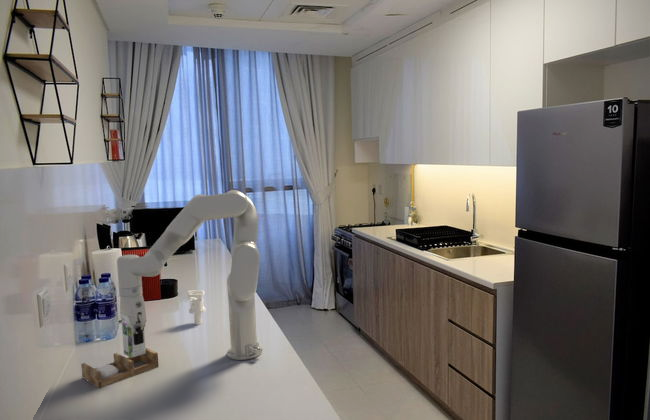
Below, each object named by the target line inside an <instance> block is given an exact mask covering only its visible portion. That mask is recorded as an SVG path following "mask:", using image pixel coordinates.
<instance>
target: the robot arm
mask: <svg viewBox="0 0 650 420" xmlns="http://www.w3.org/2000/svg"><path fill="white" fill-rule="evenodd" d="M229 218H233V221H234V226H233V238H232V245H231V250H230V256H231V267H230V268H231V269H230V272H229V274H228V275H227V280H226V289H227V290H226V291H227V300H228V301H227V302H228V318H229V319H228V320H229V322H228V323H229V334H230V335H229V337H230V339H229V340H230V348H229V349H228V350H227V351H226V356H227V358H229V359H231V360H236V361H246V360H251V359H254V358H257V357H259V356H260V355H262V353H263V348H262V347H261V346H260V344H259V342H258V337H257V336H258V335H257V316H256V315H257V312H256V310H257V309H256V297H255V296H256V295H255V294H256V293H257V288H258V280H259V275H260V264H261V254H260V251H259V248H258V236H259V235H258V232H259V215H258V211H257V208H256V206H255V205H254V203H253V201H252V200H251V198H250V197H248V196H247V195H246V194H245V193H243V192H241V191H239V190H236V189H231V190H228V191H227V192H224V193H218V194H217V193H216V194H208V195H207V194H201V193H200V194H196V195H194V196H193V197H192V198H191V199H190V200H188V203H186V205H185V206H184V207H183V209H181V211H180V212H179V213H178V214H177V215H176V216H175V218H173V220H172V221H171V222H170V223H169V225H168V226H166V229H165V230H164V232H163V233H162V234H161V235H160V237H159V238H158V239H157V240H156V241H155V243H153V245H152V246H151V247H150V248H149V249H148V251H147V252H145V254H144V255H143V256H139V255H137V254H123V255H121V256H118V257H117V259H116V265H117V266H116V267H117V268H116V269H117V280H118V283H117V284H118V294H119V311H120V312H119V313H120V319H121V321H122V314H123V315H126V316H129V317H130V321H131V325H133V328H134V332H135V333H134V345H138V344H141V343H143V342H144V339H143V332H144V331H145V327H146V323H147V310H146V304H145V299H144V295H143V280H142V277H146V278H147V277H150V278H151V277H157V276H158V275H160V274H161V272H163V269H164V266H165V264H166V263H167V262H168V260H169V259H170V258H171V257H172V256H173V255H174V254H175V253H176V251H178V249H179V248H180V247H181V246H183V245H185V244H186V243H187V242H188V241H189V240H190V239H192V237H193V236H194V235H195V233H197V231H198V230H199V229H200V227H201V226H203V224H204V223H205V222H206V221H215V220H223V219H229ZM136 322H139V323H138V324H136ZM138 325H139V327H138V328H137V327H136V326H138Z"/></svg>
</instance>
